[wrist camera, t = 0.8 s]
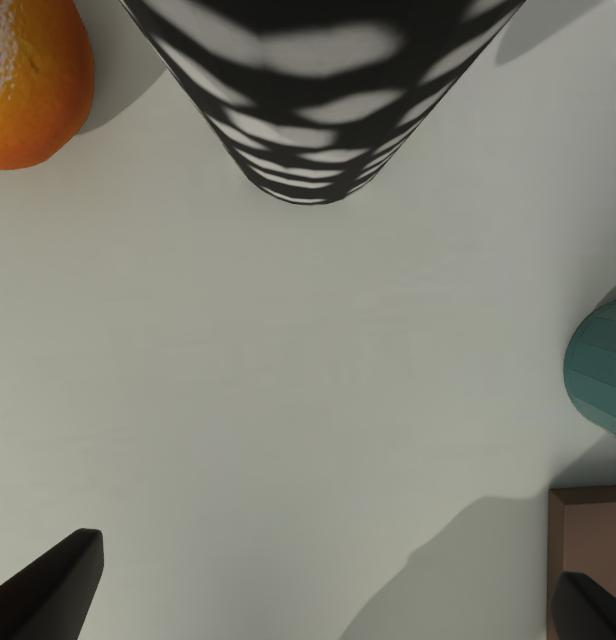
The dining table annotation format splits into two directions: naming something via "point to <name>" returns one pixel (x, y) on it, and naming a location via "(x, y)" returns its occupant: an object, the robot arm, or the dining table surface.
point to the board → (581, 538)
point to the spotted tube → (317, 78)
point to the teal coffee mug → (594, 368)
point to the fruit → (42, 79)
